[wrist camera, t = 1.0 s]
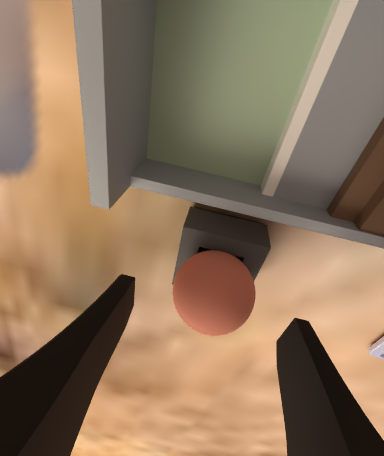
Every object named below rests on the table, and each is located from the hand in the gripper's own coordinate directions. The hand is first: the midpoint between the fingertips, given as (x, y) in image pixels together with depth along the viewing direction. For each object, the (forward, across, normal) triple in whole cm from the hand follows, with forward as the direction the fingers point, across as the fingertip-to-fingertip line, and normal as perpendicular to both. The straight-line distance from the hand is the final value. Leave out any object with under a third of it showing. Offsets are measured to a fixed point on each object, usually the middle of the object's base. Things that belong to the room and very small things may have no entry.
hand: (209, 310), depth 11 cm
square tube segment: (+5, 0, 0) cm, 5 cm away
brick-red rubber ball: (+1, 0, 0) cm, 1 cm away
